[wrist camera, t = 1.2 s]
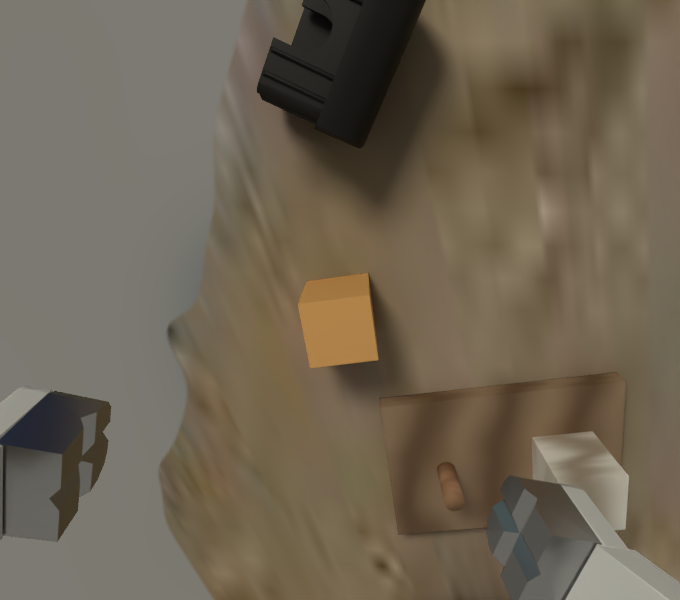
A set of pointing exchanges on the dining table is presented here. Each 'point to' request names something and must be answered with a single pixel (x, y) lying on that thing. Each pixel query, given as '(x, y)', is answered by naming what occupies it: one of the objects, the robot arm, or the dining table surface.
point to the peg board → (503, 448)
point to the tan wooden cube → (338, 321)
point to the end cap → (339, 63)
